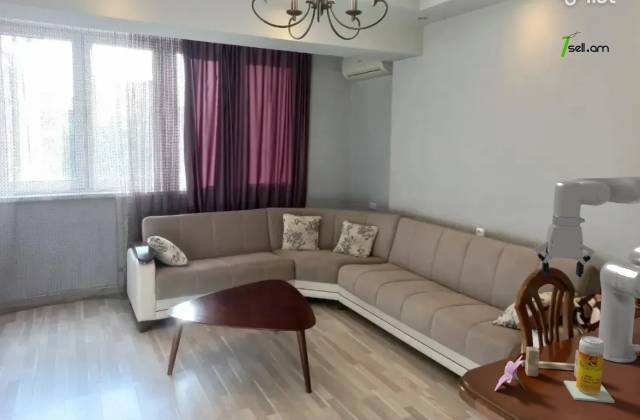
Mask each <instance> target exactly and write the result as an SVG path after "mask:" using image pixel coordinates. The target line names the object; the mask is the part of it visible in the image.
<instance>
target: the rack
mask: <svg viewBox="0 0 640 420" xmlns="http://www.w3.org/2000/svg"><path fill="white" fill-rule="evenodd" d="M525 351H526V352H525V359H522V360H521V361H523V362H522V363H521V366H522V367H524V368H525V369H524V370H525V373H526V376H527V377H536V376H537V377H539V369H550V370H551V369H552V370H561V371H562V370H564V371H574V372H573V376H574V377H575V379H576V380H577V368H578V355H579V349H575V355H574V363H568V362H555V361H554V362H553V361H542V360H541V361H540V350H539V348H538V347H537V346H526V349H525Z"/></svg>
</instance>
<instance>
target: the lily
mask: <svg viewBox="0 0 640 420" xmlns="http://www.w3.org/2000/svg"><path fill="white" fill-rule="evenodd" d="M522 357H523V355H521V356H520V357H518V359H517V360H516V361H515V362H513V361H511V360H509V361H507V364H506V366H505V367H504V370H503V371H504V374H503V375H502V376H501V377H500V378H499V380H498V383H497V384H496V386H495V389H494V391H495V392H496V391H497V389H499V387H500V386H501V385H502V384H503V383H504V382H505V381H506V382H507V383H509V384H510V383H511V382H512V380H518V382H519V383H520V384H521V386H522V388H523V389H524V391H527V389H526V388H525V386H524V384H523V383H522V382H521V380H520V379H519V377H518V367H519V366H520V365H522V362H523V361H522V360H521V359H522Z"/></svg>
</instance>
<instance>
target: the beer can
mask: <svg viewBox="0 0 640 420" xmlns="http://www.w3.org/2000/svg"><path fill="white" fill-rule="evenodd" d="M580 338H581V339H580V340H579V344H578V350H579V355H578V368H577V379H576V387H577V388H578V390H579V391H580V392H582V393H584V394H588V395H597V394H598V393H599V392H600V391H601V384H602V380H603V379H602V378H603V377H602V376H603V367H604V359H603V357H604V343H603V341H602V340H601V339H599V338H598V337H597V336H590V335H584V336H581V337H580Z"/></svg>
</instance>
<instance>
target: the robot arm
mask: <svg viewBox="0 0 640 420" xmlns="http://www.w3.org/2000/svg"><path fill="white" fill-rule="evenodd" d="M553 195H554V196H553V210H552V211H553V212H552V222H551V224H549V225H548V229H547V233H546V238H545V242H544V243H542V244H540V245H538V246H536V247H534V249H533V250H534V253H535V254H536V256H537V258H539V259H540V261H542V265H541V272H542V273H543V274H544V276H546V277H547V276H549V272H550V271H549V270H550V263H549V261H551V259H552V258H554V259H555V258H556V259H576V260H577V262H576V267H575V275H576V276H577V277H578V278H582V275H583V274H584V269H585V268H584V267H585V265H586V263H587V262H588V261H590V260H591V258H592V257H593V255H594V254H595V250H593V249H592V248H590V247H588V246H586V245H584V236H583V229H582V226H580V225H581V224H582V223H585V222H586V221H585V220H586V219H585V218H583V217H581V209H582V208H581V207H582V205H585V206H594V207H599V206H602V205H604V204H606V203H607V202H608V203H616V204H622V205H623V204H625V205H630V204H632V205H635V204H640V176H622V177H621V176H619V177H618V176H617V177H590V178H589V177H586V178H574V179H571V180H570V181H569V180H567V181H566V180H565V181H562V180H561V181H557V182H556V183H555V186H554V194H553ZM543 250H544V253H545V254H544V255H543V254H542V253H541V251H543ZM584 251H585V252H587V253H586V254H585V255H584V256H583V253H584ZM627 260H628V261H624V260H620V259H615V260H609V261H606V262H605V263H603V265H602V266H601V269H600V271H599V281H600V288H601V303H600V315H599V327H598V337H597V338H599V339H601V340H602V341H603V343H604V357H603V360H606V361H611V362H615V363H622V364H626V363H632V362H635V361H636V360H637V354H638V353H640V344H634V343H633V335H634V334H633V333H634V325H635V313H636V302H635V301H636V300H635V298H637V299H640V242H638V243H637V244H636V245H635V246H634V247H632V248H631V249H630V251H629V253H628V255H627Z"/></svg>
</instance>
